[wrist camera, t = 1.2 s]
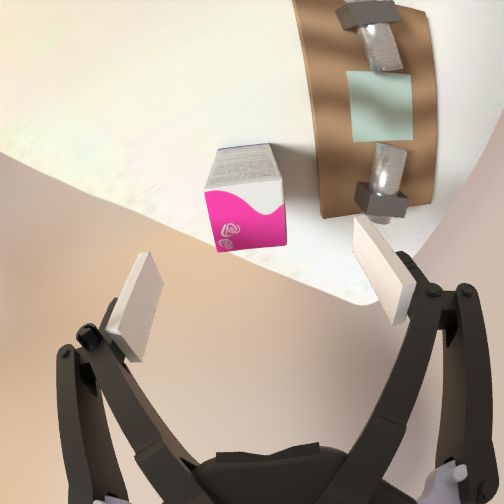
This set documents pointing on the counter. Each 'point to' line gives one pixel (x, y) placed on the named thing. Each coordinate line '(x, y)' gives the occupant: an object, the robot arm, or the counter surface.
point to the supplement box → (246, 199)
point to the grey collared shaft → (373, 30)
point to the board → (367, 104)
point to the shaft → (383, 185)
